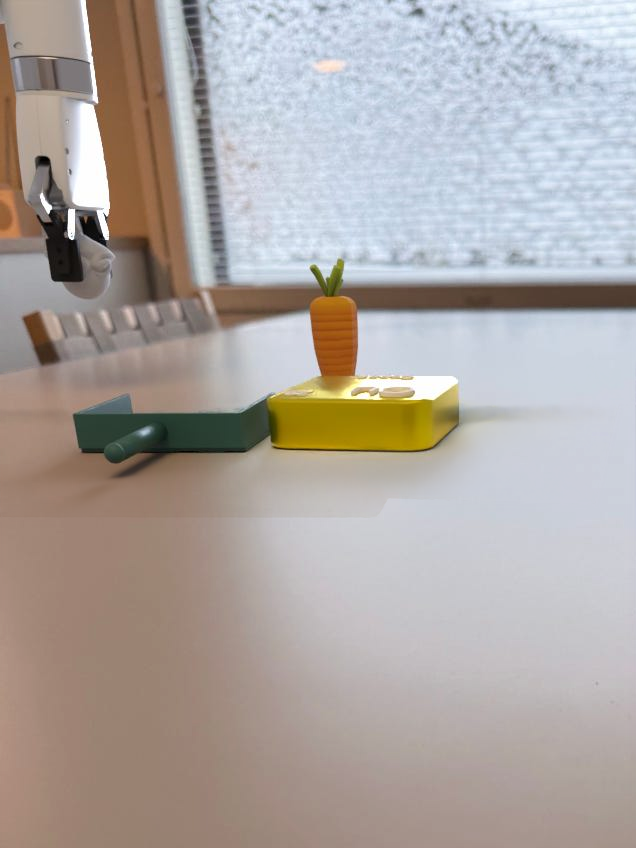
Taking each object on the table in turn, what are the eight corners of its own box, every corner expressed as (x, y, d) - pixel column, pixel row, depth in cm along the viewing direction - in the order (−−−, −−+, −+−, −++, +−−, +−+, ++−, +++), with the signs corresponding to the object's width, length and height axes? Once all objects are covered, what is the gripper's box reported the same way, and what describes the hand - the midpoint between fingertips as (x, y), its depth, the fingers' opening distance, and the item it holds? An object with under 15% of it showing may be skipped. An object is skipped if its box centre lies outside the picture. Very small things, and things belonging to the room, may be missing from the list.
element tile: (463, 420, 95) (462, 371, 93) (429, 452, 81) (427, 395, 79) (319, 418, 97) (315, 370, 96) (263, 449, 84) (257, 393, 82)
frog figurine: (49, 298, 103) (38, 227, 100) (117, 297, 105) (109, 228, 103) (51, 301, 97) (39, 227, 95) (123, 300, 100) (114, 228, 97)
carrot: (318, 411, 102) (306, 259, 96) (316, 403, 106) (304, 258, 100) (365, 408, 103) (355, 258, 97) (361, 401, 107) (351, 257, 101)
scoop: (131, 428, 94) (125, 393, 93) (278, 427, 93) (275, 392, 92) (23, 479, 75) (14, 436, 74) (207, 479, 74) (201, 435, 72)
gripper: (59, 97, 102) (85, 277, 109) (-31, 70, 86) (6, 283, 93) (128, 97, 101) (149, 278, 108) (50, 70, 86) (81, 284, 92)
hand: (83, 278), depth 101 cm, fingers closed on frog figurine, 6 cm apart
